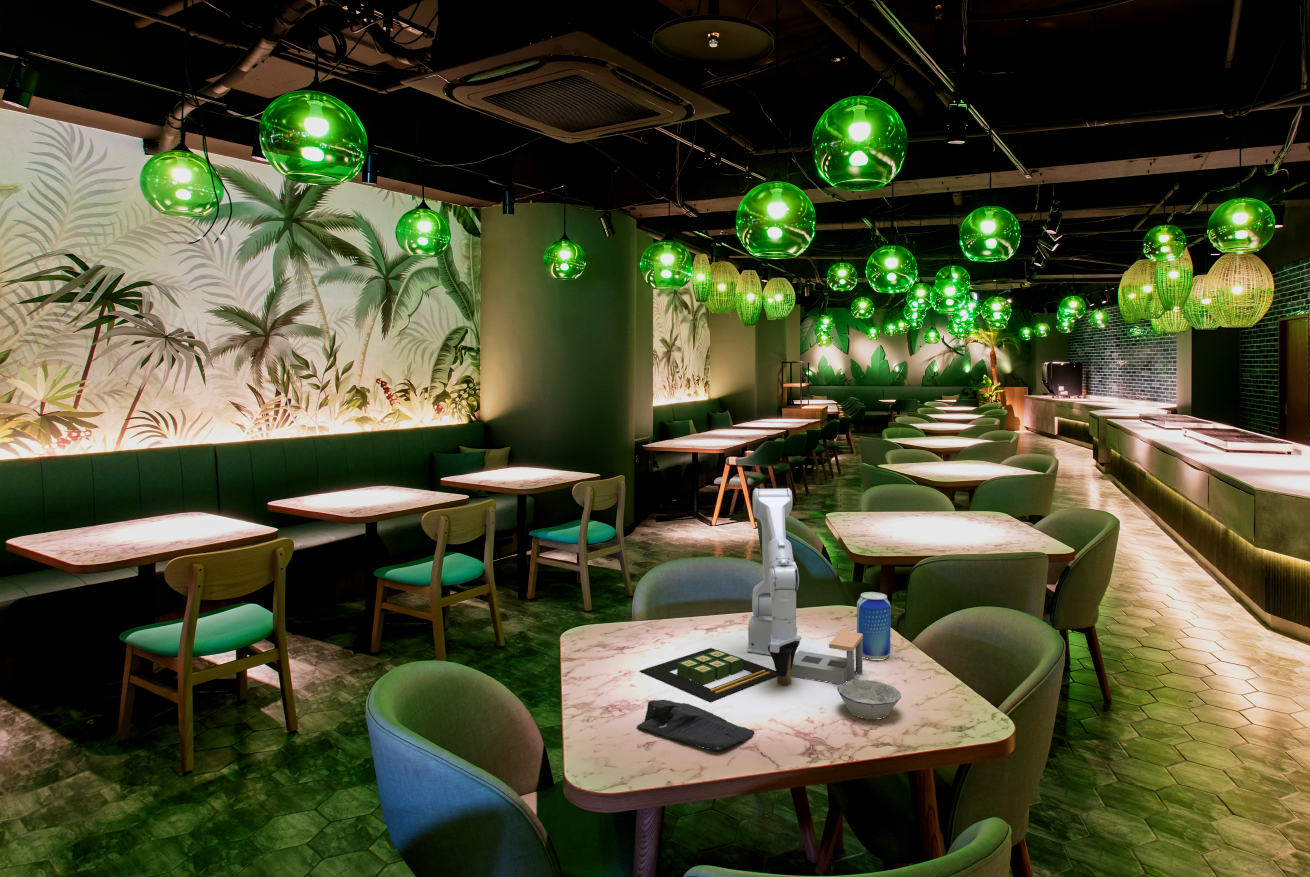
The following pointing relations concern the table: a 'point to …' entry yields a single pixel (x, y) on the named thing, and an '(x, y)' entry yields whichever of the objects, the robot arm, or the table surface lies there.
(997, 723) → the table surface
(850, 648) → the raised peach slab
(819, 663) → the socket plate
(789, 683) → the peg
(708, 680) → the sushi
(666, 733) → the black folded cloth
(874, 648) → the beer can
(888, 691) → the bowl
